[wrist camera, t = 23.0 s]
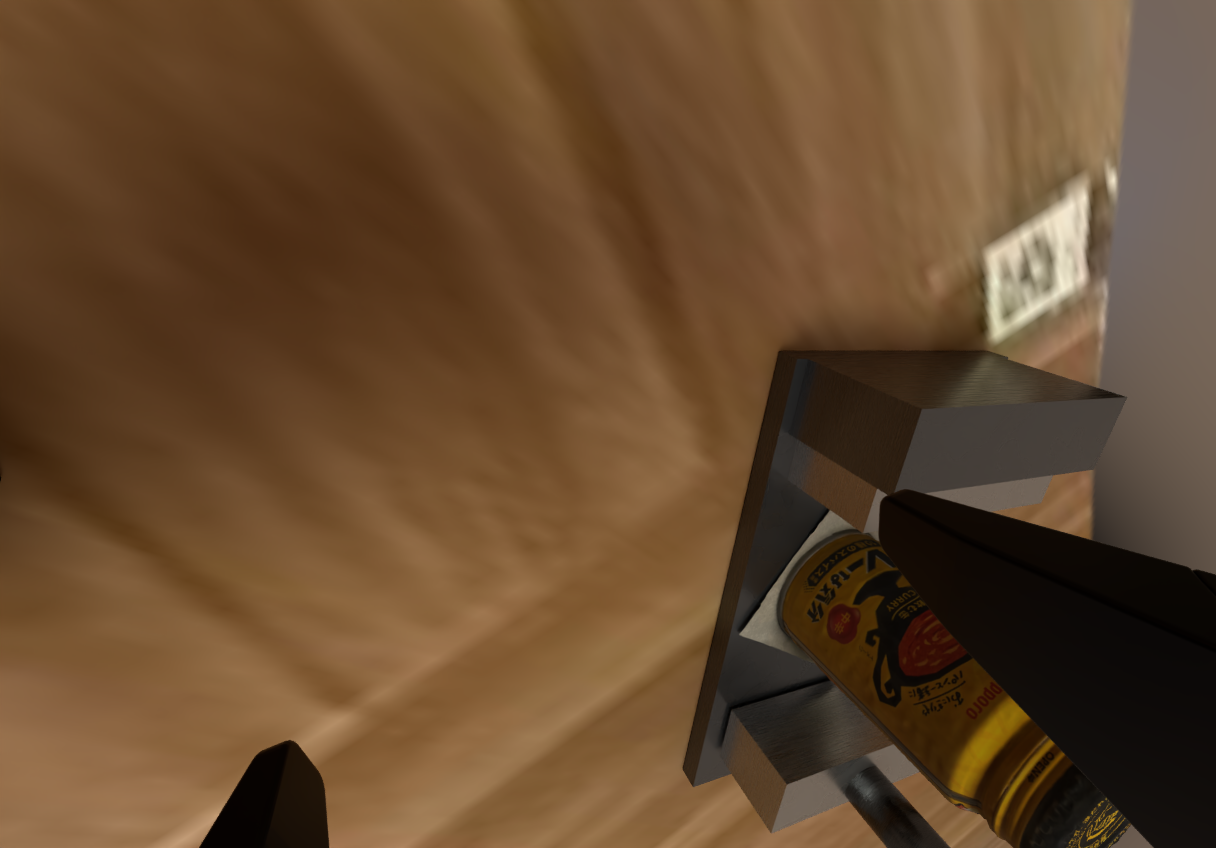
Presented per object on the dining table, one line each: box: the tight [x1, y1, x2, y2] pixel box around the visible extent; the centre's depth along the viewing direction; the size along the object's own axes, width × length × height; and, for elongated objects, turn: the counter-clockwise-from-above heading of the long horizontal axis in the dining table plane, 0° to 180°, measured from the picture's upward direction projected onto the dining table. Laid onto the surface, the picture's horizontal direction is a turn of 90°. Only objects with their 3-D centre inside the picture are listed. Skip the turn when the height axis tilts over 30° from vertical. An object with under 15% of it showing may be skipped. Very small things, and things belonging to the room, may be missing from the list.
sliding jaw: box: [720, 680, 950, 848], centre depth 28 cm, size 3×10×8 cm, turn 83°
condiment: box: [739, 510, 1131, 848], centre depth 24 cm, size 7×8×12 cm
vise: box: [683, 351, 1127, 787], centre depth 27 cm, size 22×12×6 cm, turn 172°
